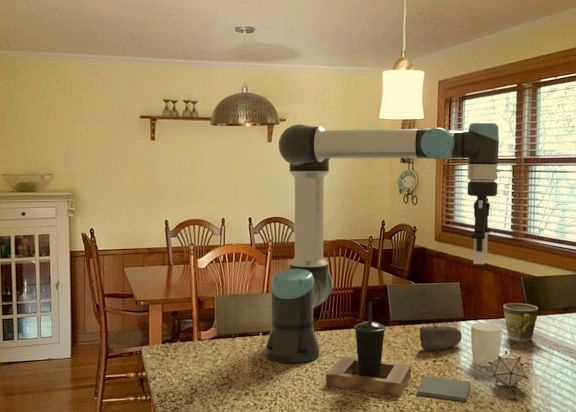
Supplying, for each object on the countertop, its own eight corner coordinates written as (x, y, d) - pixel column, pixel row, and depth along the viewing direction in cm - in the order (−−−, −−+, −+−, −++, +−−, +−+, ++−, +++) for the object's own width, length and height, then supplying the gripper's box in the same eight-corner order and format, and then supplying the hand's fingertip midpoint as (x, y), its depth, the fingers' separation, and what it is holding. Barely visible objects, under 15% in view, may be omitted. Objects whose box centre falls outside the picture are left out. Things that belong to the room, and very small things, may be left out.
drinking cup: (360, 388, 145) (361, 306, 143) (349, 377, 152) (349, 299, 151) (390, 385, 147) (391, 304, 145) (377, 374, 154) (378, 297, 153)
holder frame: (326, 385, 146) (326, 373, 146) (342, 367, 159) (342, 356, 159) (400, 396, 140) (400, 383, 139) (410, 376, 153) (410, 364, 152)
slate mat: (417, 394, 141) (417, 391, 141) (424, 378, 151) (424, 375, 151) (466, 401, 137) (466, 398, 137) (470, 384, 147) (470, 381, 147)
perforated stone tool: (455, 343, 180) (456, 321, 180) (467, 348, 176) (467, 325, 175) (413, 349, 175) (413, 325, 174) (423, 354, 170) (423, 330, 170)
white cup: (502, 368, 158) (503, 331, 158) (471, 366, 160) (472, 329, 159) (498, 359, 166) (499, 323, 165) (468, 357, 168) (469, 322, 167)
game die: (502, 398, 148) (498, 358, 154) (535, 393, 143) (530, 353, 148) (484, 387, 143) (480, 347, 148) (518, 383, 138) (513, 341, 143)
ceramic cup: (498, 333, 191) (499, 302, 190) (530, 334, 190) (531, 303, 190) (511, 346, 178) (512, 313, 177) (546, 346, 177) (547, 313, 177)
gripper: (495, 182, 148) (493, 268, 149) (498, 180, 171) (496, 254, 172) (464, 182, 150) (462, 266, 152) (471, 179, 174) (469, 252, 175)
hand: (480, 260), depth 162 cm, fingers open, 13 cm apart
